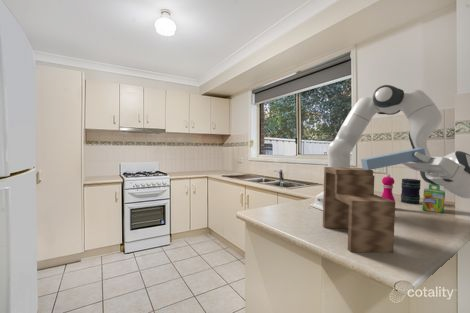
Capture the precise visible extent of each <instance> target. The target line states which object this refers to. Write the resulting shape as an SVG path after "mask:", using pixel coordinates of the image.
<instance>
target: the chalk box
mask: <svg viewBox="0 0 470 313" xmlns="http://www.w3.org/2000/svg"><path fill="white" fill-rule="evenodd" d="M433 187H436V188H433ZM440 188H441V186H440V185H433V184H430V183H428V188H424V189H423V193H422V195H423V197H422V208H421V209H422V211H426V212H432V213H437V214H438V213H439V214H444V210H445V200H446V191H445V190H442V189H440Z"/></svg>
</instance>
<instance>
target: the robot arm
mask: <svg viewBox="0 0 470 313" xmlns="http://www.w3.org/2000/svg"><path fill="white" fill-rule="evenodd" d="M399 112H403V114H404V116H405V117H406V119H407V121H408V122H409V126H410V127H409V128H410V129H409V133H408V139H409V142H410V144H411V147H412V148H411V149H415V148H424V149H425V155H423V154H420V153H419V152H414V153H413V154H412V156H413V157H415V158H418V159H420V160H417V161H412V162H407V163H402V164H401V165H404V166H406V167H408V168H409V169H411V170H414V171H418V172H419V173H420V174H419V175H420V176H421V179H422V180H423V181H424V182H426V183H428V184H433V185H440V187H443V188H444V189H445V190H447V191H448V192H450V193H452V194H453V195H455V196H457V197H459V198H463V199H470V153H467V152H464V151H461V150H460V151H459V150H455V151H453V152H450V153H449V154H446V155H444V156H433V155H432V156H431V154H430V150H429V148H428V145H427V142H428V139H429V138H430V136H432V135H431V134H433V133H434V131H435V130H436V129H437V128H438V127H439V125H440V123H441V121H442V117H443V116H442V113H441V111H440V109H439V107H438V106H437V105H436V103H435V102H434V101H433V99H432V98H431V97H430V96H429V95H427V94H426V93H425V92H424V91H423V90H420V89H413V90H411V91H408V92H405V91H404V90H403V89H402V88H398V87H396V86H394V85H390V84H384V85H381V86H378V87H377V88H376V89H375V90H374V92H373V94H372V96H362V97H360V98H359V99H358V100H357V102H355V104H354V105H353V106H352V108H351V109H350V110H349V112H348V114H347V116H346V117H345V119H344V121H343V122H342V124H341V126H340V127H339V130H338V132H337V133H336V136H335V138H334V140H332V141H331V142H330V143H329V144H328V146H327V167H351V153H352V151H353V150H354V148H355V147H356V145H357V143H358V141H359V140H360V138H361V137H362V135H363V133H364V131H365V130H366V128H367V127H368V125H369V123H370V122H371V120H372V119H373V117H374V115H375V116H376V114H378V115H387V116H389V115H390V116H391V115H397V114H399ZM323 188H324V185H323ZM323 198H324V190H323V191H321V192H320V193H318V194H316V196H315V197H314V202H311V203H310V207H313V208H316V209H317V210H321V211H323Z"/></svg>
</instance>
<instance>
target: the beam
mask: <svg viewBox="0 0 470 313" xmlns="http://www.w3.org/2000/svg"><path fill="white" fill-rule="evenodd" d="M414 152H419V153H420V154H423V155H425V149H424V148H415V149H413V148H410V149H406V150H401V151H397V152H395V151H394V152H391V153H386V154H380V155H375V156H371V157H366V158H361V159H360V162H361V167H362V169H364V170H376V169H381V168H386V167H391V166H396V165H403V164H402V163H407V162H412V161H417V160H420V159H418V158H415V157H413V156H412V154H413V153H414Z"/></svg>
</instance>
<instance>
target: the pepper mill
mask: <svg viewBox="0 0 470 313" xmlns="http://www.w3.org/2000/svg"><path fill="white" fill-rule="evenodd" d="M381 183H382V184H383V185H382V187H383V192H382V194H381V196H380V197H383V198H386V199H389V200H392V201H395V197H394V194H393V188H394V184H395V179H394V178H393V177H392V176H391V175H390V174H389V173H388V174H387V173H386V176H385V177H382V180H381ZM395 202H396V201H395Z"/></svg>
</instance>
